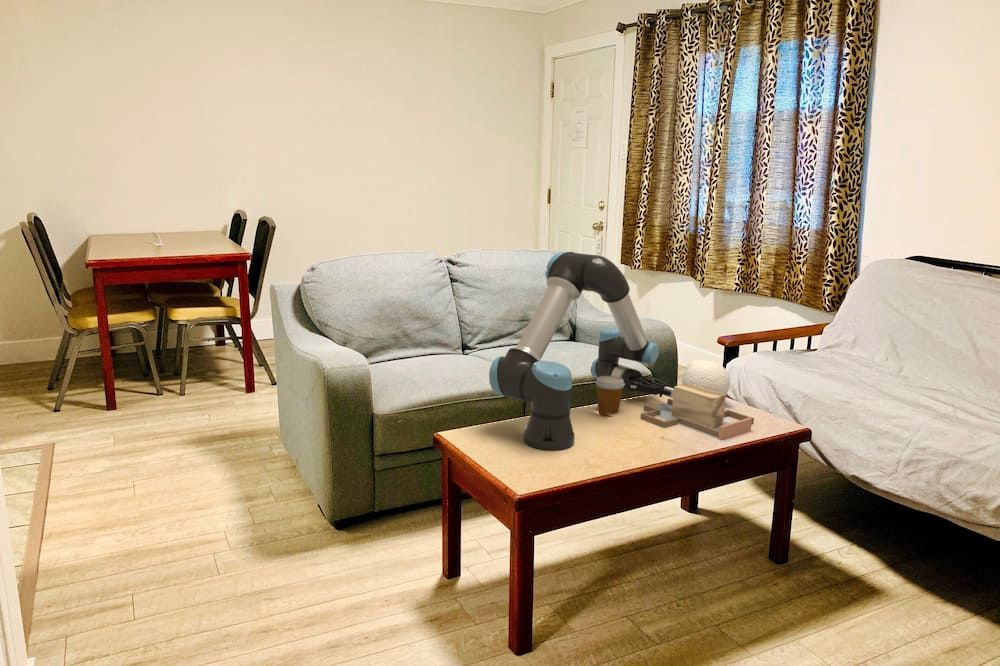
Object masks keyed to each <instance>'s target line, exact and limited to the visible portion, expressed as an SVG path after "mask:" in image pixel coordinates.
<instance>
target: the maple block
mask: <svg viewBox="0 0 1000 666" xmlns="http://www.w3.org/2000/svg"><path fill="white" fill-rule="evenodd" d="M673 389H674V392H673V398H672V399H673V404H672V416H673V417H676V418H678V417H682V418H685V419H688V420H691V421H693V422H696V423H699V424H702V425H705V426H707V427H710V428H715V427H718V426H722V425H723V421H724V418H725V417H724V411H725V408H726V407H725V406H726V398H727V394H726V395H724V394H721V393H717V392H714V391H711V390H708V389H704V388H701V387H698V386H695V385H691V384H688V383H687V384H683V385H682V384H680V385H675V386H673Z"/></svg>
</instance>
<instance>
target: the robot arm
mask: <svg viewBox="0 0 1000 666" xmlns="http://www.w3.org/2000/svg"><path fill="white" fill-rule="evenodd" d="M545 279H546V285H547V289H546V292H545V293H544V295H543V297H542V299H541V300H540V302H539V304H538V306H537V307H536V310H535V312H534V313H533V315H532V317H531V319H530V321H529V322H528V324H527V327H526V328H525V329H524V331H523V333H522V335H521V337H520V339H519V340H518V343H517V344H516V346H513V347H510V348H509V349H508V350H507V351H506V354H505V355H503V356H501V355H500V356H498V357H496V358H494V360H493V361H492V363H491V365H490V368H489V373H488V378H489V385H490V387H491V389H492V391H493V392H495V394H496V395H499V396H503V397H504V398H509V399H513V400H517V401H521V402H524V403H528V404H530V416H529V419H528V422H527V425H526V428H524V432H523V442H524V443H525V444H526V445H528V446H529V447H532V448H534V449H538V450H545V451H558V450H565V449H568V448H571V447H572V446H574V445H575V439H576V437H575V436H576V435H575V432H574V429H573V425H572V424H573V423H572V420H571V403H572V401H571V400H572V388H573V381H572V379H573V377H572V372H571V370H570V368H568V367H567V366H566V365H565V364H562V363H560V362H556V361H549V360H541V359H543V356H544V354H545V352H546V350H547V348H548V346H549V345H550V343H551V340H552V339H553V337H554V335H555V333H556V332H557V330H558V327H559V326H560V323H561V322H562V320H563V318H564V316H565V315H566V312H567V310H568V309H569V307H570V305H571V303H572V302H573V301H576V300H578V299H579V298H580V297H581V294H582V293H583V291H584V292H585V291H586V292H593V293H596V294H598V295H599V296H600V298H601V300H602V301H604V302H605V303H607V306H608V309H609V310H610V312H611V315H612V316H613V318H614V321H615V324H616V326H617V328H618V329H616V328H611V327H609V328H602V329H601V330H600V331H599V337H598V339H599V340H598V350H597V351H598V356H597V358H596V359H595V360H593V362H592V365H591V366H590V374H591V376H592V377H593V378H594V379H597V378H598V377H601V376H615V377H619V378H622V379H623V380H624V383H625V385H624V387H623V389H625V390H628V391H631V392H641V393H645V394H650V395H654V396H658V395H659V398H662V397H663V396H665V397H669V398H670V399H673V392H674V387H671V384H669V383H667V382H665V381H663V380H660V379H658V378H657V377H656V376H655V377H653V378H649V377H647V376H643V375H642V373H641V371H639V370H637V369H634V368H631V367H629V366H626V365H622V364H619V361H620V359H622V360H623V359H624V360H627V361H633V362H636V363H641V364H647V365H648V364H649V365H652V364H654V363H655V362H657V359H658V358H659V357H658V356H659V354H660V353H659V352H660V351H659V345H658V344H657V343H654V342H652V341H649V340H648V338H647V334H646V333H645V330H644V328H643V326H642V323H641V321H640V318H639V316H638V313H637V311H636V308H635V306H634V304H633V300H632V298H631V296H630V294H629V293H630V290H631V289H630V285H629V283H628V280H627V278H626V276H625V275H624V274H623V272H622V271H621V270H620V269H619V267H618V266H617V265H616V264H615V263H614V262H613V261H611V260H610V259H608V258H607V257H605V256H602V255H598V254H588V253H577V252H574V251H571V250H570V251H559V252H557V253H555V254H554V255H552V256H551V258H550V259H549V261H547V265H546V271H545Z"/></svg>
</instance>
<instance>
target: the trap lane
mask: <svg viewBox="0 0 1000 666" xmlns="http://www.w3.org/2000/svg"><path fill="white" fill-rule="evenodd" d="M672 404H673V398H667V402H666V404H661V405H657V406H651V405H649V404H644V405H643V409H642V410H641V412H642V413H640V417H639V418H640V420H642V421H643V422H644V421H645V422H647V423H650V424H653V425H655V426H658V427H661V428H664V429H667V428H669V427H673V426H676V425H679V426H682V427H684V428H686V429H687V428H688V429H690V430H692V431H695V432H697V433H701V434H703V435H706V436H709V437H711V438H715V439H716V440H720V441H723V440H726V439H730V438H732V437H735V436H737V435H741V434H744V433H748V432H751V430H752V425H753V424H754V423H755V422H754V421H755V418H754V417H752V416H748V415H746V414H743V413H740V412H737V411H735V410H734V411H733V410H730V409H724V418H726V417H729V418H732V419H735V420H736V421H733V422H727V421H725V420H723V425H722V426H718V427H715V428H710V427H707V426H705V425H702V424H699V423H696V422H693V421H691V420H688V419H685V418H682V417H678V418H676V417H673V416H672ZM660 418H661V419H660Z"/></svg>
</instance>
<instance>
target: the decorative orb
mask: <svg viewBox="0 0 1000 666" xmlns="http://www.w3.org/2000/svg"><path fill="white" fill-rule="evenodd" d="M687 383H688V384H691V385H695V386H698V387H701V388H704V389H708V390H711V391H714V392H717V393H721V394H724V395H726V396H727V394H728V392H729V390H730V386H731V378H730V374H729V373H728V371H727V369H726V368H725V367H724V366H722V364H720V363H718V362H715V361H713V360H706V359H694V360H693V359H692V361H690V362H688V364H687V365H686V368H685V370H684V372H683V375H682V378H681V385H683V384H687Z"/></svg>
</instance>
